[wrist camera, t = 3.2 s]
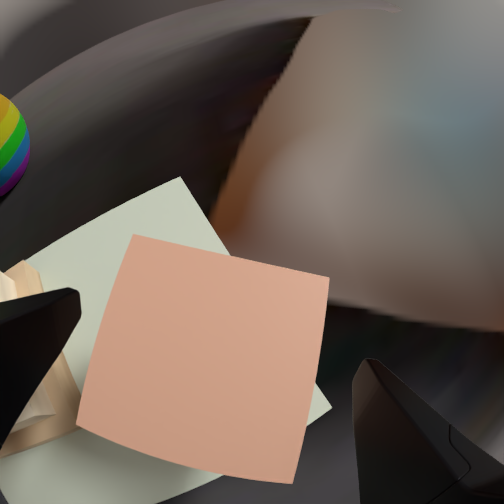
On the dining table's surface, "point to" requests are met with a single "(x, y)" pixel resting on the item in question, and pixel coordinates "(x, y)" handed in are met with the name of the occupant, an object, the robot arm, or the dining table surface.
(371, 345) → the dining table surface
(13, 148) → the decorative egg
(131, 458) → the baseplate
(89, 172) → the dining table surface
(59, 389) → the stepped square platform
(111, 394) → the terracotta brick
